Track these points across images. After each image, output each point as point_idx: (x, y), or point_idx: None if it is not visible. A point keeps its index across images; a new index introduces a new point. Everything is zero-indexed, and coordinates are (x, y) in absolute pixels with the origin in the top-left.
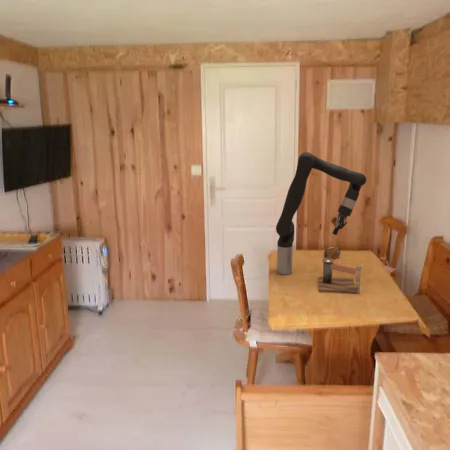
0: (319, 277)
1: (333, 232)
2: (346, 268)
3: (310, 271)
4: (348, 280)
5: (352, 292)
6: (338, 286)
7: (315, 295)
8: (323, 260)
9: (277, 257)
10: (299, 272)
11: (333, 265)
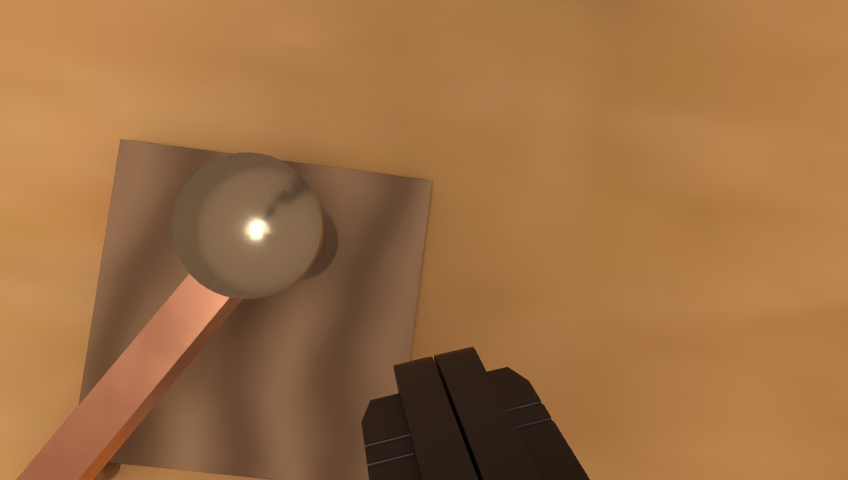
0: (411, 191)
1: (418, 377)
2: (62, 428)
3: (622, 149)
4: (335, 440)
5: None
6: None
7: (54, 105)
8: (220, 157)
9: None
10: (594, 50)
11: (183, 285)
